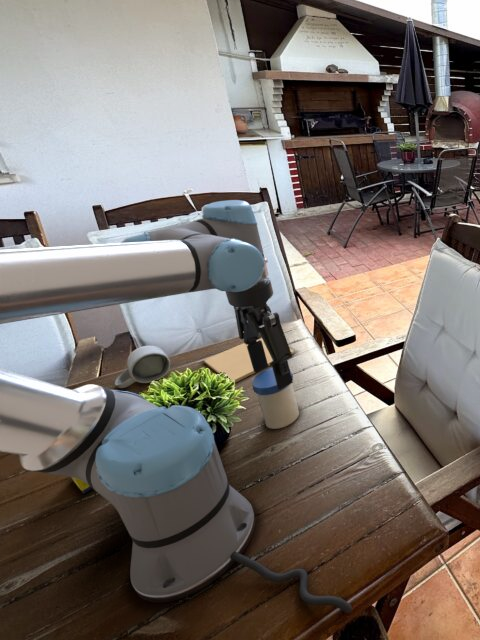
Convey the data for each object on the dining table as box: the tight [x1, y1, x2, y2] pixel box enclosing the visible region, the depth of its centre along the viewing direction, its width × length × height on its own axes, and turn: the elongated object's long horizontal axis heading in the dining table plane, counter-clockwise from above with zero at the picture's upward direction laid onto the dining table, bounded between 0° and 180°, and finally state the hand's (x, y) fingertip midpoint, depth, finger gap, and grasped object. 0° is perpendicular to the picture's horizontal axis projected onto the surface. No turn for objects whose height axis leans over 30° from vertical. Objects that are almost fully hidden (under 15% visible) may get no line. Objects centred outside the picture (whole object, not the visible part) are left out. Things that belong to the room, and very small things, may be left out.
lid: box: [251, 367, 294, 395], centre depth 85 cm, size 7×7×2 cm
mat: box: [203, 338, 295, 383], centre depth 109 cm, size 16×16×1 cm
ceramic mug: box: [114, 345, 171, 389], centre depth 100 cm, size 11×8×8 cm
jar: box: [256, 383, 300, 430], centre depth 87 cm, size 7×7×10 cm
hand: (273, 376), depth 85 cm, fingers open, 9 cm apart
